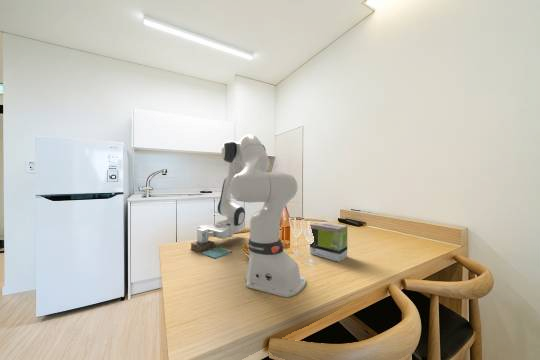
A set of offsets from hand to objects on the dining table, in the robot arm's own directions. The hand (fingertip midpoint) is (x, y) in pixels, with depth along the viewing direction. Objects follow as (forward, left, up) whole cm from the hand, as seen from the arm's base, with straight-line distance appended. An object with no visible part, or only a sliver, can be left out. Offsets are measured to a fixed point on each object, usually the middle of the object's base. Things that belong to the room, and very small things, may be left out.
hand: (201, 234), depth 105 cm
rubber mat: (-11, -1, -8) cm, 13 cm away
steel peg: (0, -1, -8) cm, 8 cm away
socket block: (0, -1, -8) cm, 8 cm away
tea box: (-56, -31, -8) cm, 64 cm away
